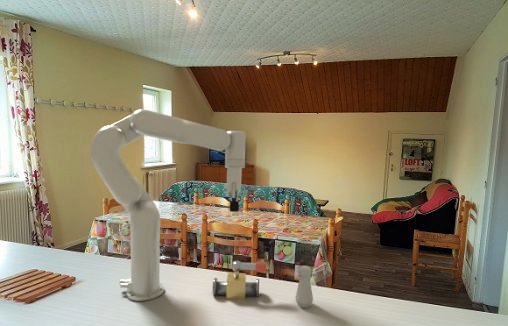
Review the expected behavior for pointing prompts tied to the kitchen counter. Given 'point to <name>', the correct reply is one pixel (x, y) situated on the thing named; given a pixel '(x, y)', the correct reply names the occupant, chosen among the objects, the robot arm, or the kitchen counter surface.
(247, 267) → the valve lever
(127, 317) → the kitchen counter surface
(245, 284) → the valve pipe
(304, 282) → the salt shaker
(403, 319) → the kitchen counter surface
